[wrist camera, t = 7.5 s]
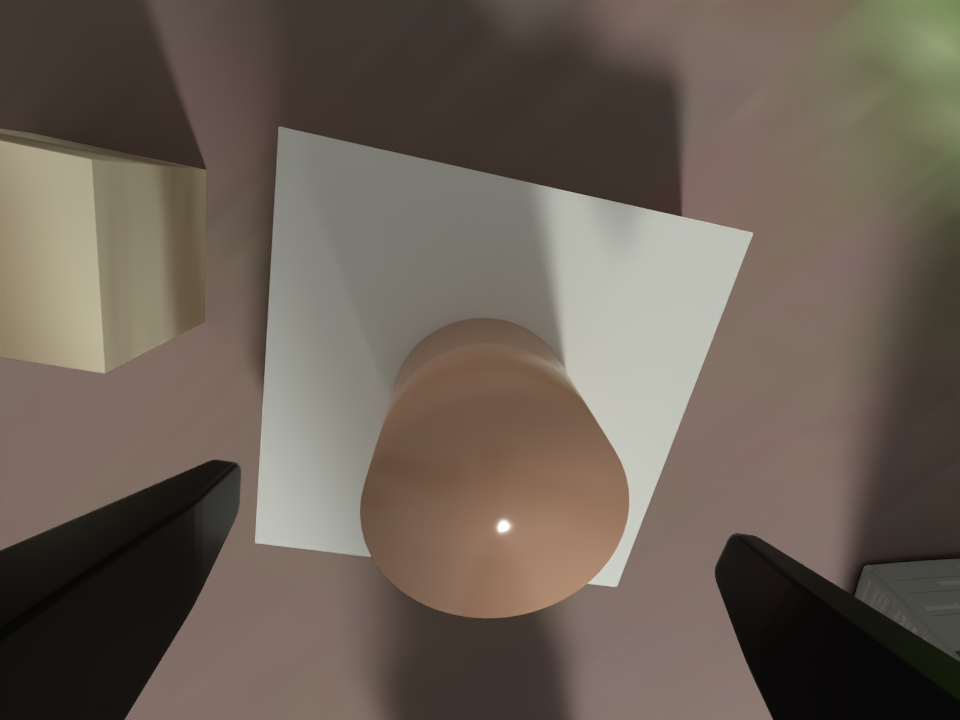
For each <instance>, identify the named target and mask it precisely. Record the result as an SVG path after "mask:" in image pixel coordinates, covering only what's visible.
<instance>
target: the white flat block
mask: <svg viewBox="0 0 960 720" xmlns="http://www.w3.org/2000/svg"><path fill="white" fill-rule="evenodd" d="M752 235H753V233H752V232H748V231H743V230H739V229H734V228H730V227H725V226H721V225H716V224H712V223H707V222H703V221H699V220H694V219H690V218H685V217H681V216H676V215H672V214H667V213H663V212H658V211H654V210H649V209H645V208H641V207H636V206H632V205H627V204H623V203H618V202H614V201H609V200H605V199H600V198H596V197H592V196H587V195H583V194H578V193H574V192H569V191H565V190H560V189H556V188H551V187H547V186H542V185H538V184H534V183H529V182H525V181H520V180H516V179H511V178H507V177H502V176H498V175H493V174H489V173H485V172H480V171H476V170H471V169H467V168H462V167H458V166H453V165H449V164H444V163H440V162H436V161H431V160H427V159H422V158H418V157H413V156H409V155H404V154H400V153H395V152H391V151H386V150H382V149H378V148H373V147H369V146H364V145H360V144H355V143H351V142H346V141H342V140H337V139H333V138H329V137H324V136H320V135H315V134H311V133H306V132H302V131H297V130H293V129H288V128H284V127H279V130H278V148H277V165H276V183H275V200H274V218H273V235H272V253H271V271H270V288H269V306H268V323H267V341H266V358H265V376H264V394H263V411H262V429H261V446H260V464H259V481H258V499H257V517H256V534H255V543H260V544H268V545H276V546H285V547H293V548H301V549H309V550H317V551H325V552H334V553H342V554H350V555H358V556H366V557H371V555H370V553H369V550H368V548H367V546H366V544H365V541H364V537H363V533H362V529H361V520H360V504H361V495H362V491H363V487H364V483H365V479H366V476H367V473H368V470H369V466H370V463H371V460H372V457H373V453H374V450H375V447H376V444H377V440H378V437H379V434H380V431H381V427H382V424H383V421H384V418H385V414H386V411H387V408H388V405H389V401H390V398H391V395H392V392H393V388H394V385H395V382H396V379H397V376H398V373H399V371H400V368H401V366H402V364H403V363H404V361H405V359H406V358H407V356H408V355H409V354H410V352H411V351H412V350H413V348H414V347H415V346H416V345H417V344H418V343H419V342H420V341H422V340H423V339H424V338H425V337H427V336H428V335H429V334H431V333H432V332H434V331H436V330H438V329H440V328H441V327H444V326H446V325H449V324H451V323H454V322H458V321H462V320H467V319H474V318H491V319H500V320H504V321H508V322H512V323H514V324H517V325H519V326H522V327H524V328H526V329H527V330H529V331H531V332H533V333H534V334H535V335H537V336H538V337H539V338H541V339H542V340H543V341H544V342H545V343H546V344H547V345H548V346H549V347H550V348H551V350H552V351H553V352H554V354H555V355H556V356H557V358H558V360H559V361H560V363H561V364H562V366H563V368H564V369H565V371H566V372H567V374H568V376H569V377H570V379H571V381H572V382H573V384H574V385H575V387H576V389H577V390H578V392H579V393H580V395H581V397H582V398H583V400H584V401H585V403H586V405H587V406H588V408H589V409H590V411H591V413H592V414H593V416H594V417H595V419H596V421H597V422H598V424H599V426H600V427H601V429H602V430H603V432H604V434H605V435H606V437H607V438H608V440H609V442H610V443H611V445H612V446H613V448H614V450H615V452H616V453H617V455H618V457H619V459H620V461H621V463H622V466H623V468H624V471H625V474H626V477H627V483H628V489H629V511H628V519H627V523H626V526H625V530H624V533H623V536H622V538H621V540H620V542H619V545H618V547H617V549H616V550H615V552H614V553H613V555H612V557H611V558H610V560H609V561H608V562H607V564H606V565H605V566H604V567H603V568H602V570H601V571H600V572H599V573H598V574H597V575H596V576H595V577H594V578H593V579H592V580H591V581H590V582H588V583H587V584H595V585H603V586H612V587H617V585H618V583H619V580H620V578H621V575H622V572H623V570H624V567H625V565H626V562H627V559H628V557H629V554H630V552H631V549H632V546H633V544H634V541H635V539H636V536H637V533H638V531H639V528H640V526H641V523H642V520H643V518H644V515H645V513H646V510H647V508H648V505H649V502H650V500H651V497H652V495H653V492H654V489H655V487H656V484H657V482H658V479H659V476H660V474H661V471H662V469H663V466H664V463H665V461H666V458H667V456H668V453H669V450H670V448H671V445H672V443H673V440H674V437H675V435H676V432H677V430H678V427H679V425H680V422H681V419H682V417H683V414H684V412H685V409H686V406H687V404H688V401H689V399H690V396H691V393H692V391H693V388H694V386H695V383H696V380H697V378H698V375H699V373H700V370H701V367H702V365H703V362H704V360H705V357H706V355H707V352H708V349H709V347H710V344H711V342H712V339H713V336H714V334H715V331H716V329H717V326H718V323H719V321H720V318H721V316H722V313H723V310H724V308H725V305H726V303H727V300H728V297H729V295H730V292H731V290H732V287H733V284H734V282H735V279H736V277H737V274H738V272H739V269H740V266H741V264H742V261H743V259H744V256H745V253H746V251H747V248H748V246H749V243H750V240H751V238H752Z"/></svg>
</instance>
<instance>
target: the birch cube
mask: <svg viewBox="0 0 960 720" xmlns="http://www.w3.org/2000/svg"><path fill="white" fill-rule="evenodd" d="M206 189H207V170H205V169H200V168H196V167H191V166H186V165H181V164H177V163H172V162H167V161H162V160H158V159H153V158H148V157H143V156H139V155H134V154H129V153H124V152H120V151H115V150H110V149H105V148H101V147H96V146H91V145H87V144H82V143H77V142H72V141H68V140H63V139H58V138H53V137H49V136H44V135H39V134H34V133H28V132H21V131H14V130H7V129H0V357H5V358H11V359H17V360H24V361H30V362H36V363H43V364H49V365H55V366H62V367H68V368H74V369H80V370H87V371H93V372H99V373H107V372H109V371H111V370H113V369H115V368H117V367H119V366H120V365H122V364H124V363H126V362H128V361H130V360H132V359H134V358H136V357H138V356H140V355H142V354H144V353H145V352H147V351H149V350H151V349H153V348H155V347H157V346H159V345H161V344H163V343H165V342H167V341H169V340H171V339H172V338H174V337H176V336H178V335H180V334H182V333H184V332H186V331H188V330H190V329H192V328H194V327H196V326H197V325H199V324H201V323H203V322H205V270H206Z"/></svg>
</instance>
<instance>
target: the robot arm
mask: <svg viewBox="0 0 960 720" xmlns="http://www.w3.org/2000/svg"><path fill="white" fill-rule="evenodd" d="M240 481H241V469H240V466H239V464H238V463H236V462H229V461H222V460H211V461H209V462H206V463H204V464H202V465H199V466H197V467H195V468H192V469H190V470H188V471H185V472H183V473H181V474H178V475H176V476H174V477H171V478H169V479H167V480H164V481H162V482H160V483H157V484H155V485H153V486H150V487H148V488H146V489H143V490H141V491H139V492H136V493H134V494H132V495H129V496H127V497H125V498H122V499H120V500H118V501H115V502H113V503H111V504H108V505H106V506H104V507H101V508H99V509H97V510H94V511H92V512H90V513H87V514H85V515H83V516H80V517H78V518H76V519H73V520H71V521H69V522H66V523H64V524H62V525H59V526H57V527H55V528H52V529H50V530H47V531H45V532H43V533H40V534H38V535H36V536H33V537H31V538H29V539H26V540H24V541H22V542H19V543H17V544H15V545H12V546H10V547H8V548H5V549H3V550H1V551H0V720H125V718H126V716H127V715H128V713H129V711H130V710H131V708H132V706H133V705H134V703H135V702H136V700H137V698H138V697H139V695H140V693H141V692H142V690H143V688H144V687H145V685H146V684H147V682H148V680H149V679H150V677H151V675H152V674H153V672H154V670H155V669H156V667H157V666H158V664H159V662H160V661H161V659H162V657H163V656H164V654H165V652H166V651H167V649H168V648H169V646H170V644H171V643H172V641H173V639H174V638H175V636H176V634H177V633H178V631H179V630H180V628H181V626H182V625H183V623H184V621H185V620H186V618H187V616H188V615H189V613H190V611H191V609H192V608H193V606H194V604H195V602H196V600H197V598H198V596H199V594H200V592H201V590H202V588H203V586H204V584H205V582H206V580H207V578H208V576H209V573H210V571H211V569H212V567H213V565H214V563H215V561H216V559H217V557H218V555H219V552H220V550H221V548H222V546H223V544H224V542H225V540H226V538H227V536H228V533H229V531H230V529H231V527H232V525H233V523H234V521H235V519H236V516H237V513H238V510H239V504H240ZM715 579H716V582H717V585H718V587H719V590H720V593H721V596H722V598H723V601H724V604H725V606H726V609H727V612H728V614H729V617H730V620H731V623H732V625H733V628H734V631H735V633H736V636H737V639H738V641H739V644H740V647H741V649H742V652H743V654H744V657H745V660H746V662H747V664H748V667H749V669H750V671H751V673H752V676H753V678H754V680H755V682H756V684H757V686H758V689H759V691H760V693H761V695H762V697H763V699H764V701H765V703H766V706H767V708H768V710H769V712H770V714H771V716H772V718H773V720H960V661H958V660H957V659H955V658H953V657H952V656H950V655H948V654H947V653H945V652H944V651H942V650H940V649H939V648H937V647H935V646H934V645H932V644H931V643H929V642H927V641H926V640H924V639H922V638H921V637H919V636H918V635H916V634H914V633H913V632H911V631H909V630H908V629H906V628H905V627H903V626H901V625H900V624H898V623H896V622H895V621H893V620H892V619H890V618H888V617H887V616H885V615H883V614H882V613H880V612H879V611H877V610H875V609H874V608H872V607H870V606H869V605H867V604H866V603H864V602H862V601H861V600H859V599H857V598H856V597H854V596H853V595H851V594H849V593H848V592H846V591H844V590H843V589H841V588H840V587H838V586H836V585H835V584H833V583H832V582H830V581H828V580H827V579H825V578H823V577H822V576H820V575H819V574H817V573H815V572H814V571H812V570H810V569H809V568H807V567H806V566H804V565H802V564H801V563H799V562H797V561H796V560H794V559H793V558H791V557H789V556H788V555H786V554H784V553H783V552H781V551H780V550H778V549H776V548H775V547H773V546H771V545H770V544H768V543H767V542H765V541H763V540H762V539H760V538H758V537H756V536H753V535H746V534H739V533H736V534H733V535H731V536H730V537H729V539H728V541H727V543H726V545H725V547H724V549H723V551H722V553H721V555H720V558H719V560H718V562H717V564H716V567H715Z"/></svg>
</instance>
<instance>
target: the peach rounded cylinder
mask: <svg viewBox="0 0 960 720" xmlns="http://www.w3.org/2000/svg"><path fill="white" fill-rule="evenodd" d="M628 511H629V489H628V483H627V477H626V474H625V471H624V468H623V466H622V463H621V461H620V459H619V457H618V455H617V453H616V452H615V450H614V448H613V446H612V445H611V443H610V442H609V440H608V438H607V437H606V435H605V434H604V432H603V430H602V429H601V427H600V426H599V424H598V422H597V421H596V419H595V417H594V416H593V414H592V413H591V411H590V409H589V408H588V406H587V405H586V403H585V401H584V400H583V398H582V397H581V395H580V393H579V392H578V390H577V389H576V387H575V385H574V384H573V382H572V381H571V379H570V377H569V376H568V374H567V372H566V371H565V369H564V368H563V366H562V364H561V363H560V361H559V360H558V358H557V356H556V355H555V354H554V352H553V351H552V350H551V348H550V347H549V346H548V345H547V344H546V343H545V342H544V341H543V340H542V339H541V338H539V337H538V336H537V335H535V334H534V333H533V332H531V331H529V330H527V329H526V328H524V327H522V326H519V325H517V324H514V323H512V322H508V321H504V320H500V319H491V318H474V319H467V320H462V321H458V322H454V323H451V324H449V325H446V326H444V327H441V328H440V329H438V330H436V331H434V332H432V333H431V334H429V335H428V336H427V337H425V338H424V339H423V340H422V341H420V342H419V343H418V344H417V345H416V346H415V347H414V348H413V350H412V351H411V352H410V354H409V355H408V356H407V358H406V359H405V361H404V363H403V364H402V366H401V368H400V371H399V373H398V376H397V379H396V382H395V385H394V388H393V392H392V395H391V398H390V401H389V405H388V408H387V411H386V414H385V418H384V421H383V424H382V427H381V431H380V434H379V437H378V440H377V444H376V447H375V450H374V453H373V457H372V460H371V463H370V466H369V470H368V473H367V476H366V479H365V483H364V487H363V491H362V495H361V504H360V520H361V529H362V533H363V537H364V541H365V544H366V546H367V548H368V550H369V553H370V555H371V557H372V558H373V560H374V562H375V563H376V565H377V566H378V568H379V569H380V570H381V572H382V573H383V574H384V575H385V576H386V578H387V579H388V580H389V581H390V582H392V583H393V584H394V585H395V586H396V587H397V588H398V589H399V590H401V591H402V592H404V593H405V594H407V595H408V596H409V597H411V598H413V599H414V600H416V601H418V602H420V603H422V604H424V605H426V606H429V607H431V608H434V609H436V610H439V611H442V612H446V613H449V614H453V615H458V616H465V617H472V618H504V617H511V616H518V615H522V614H526V613H531V612H534V611H537V610H540V609H543V608H546V607H549V606H551V605H553V604H555V603H557V602H559V601H561V600H563V599H565V598H567V597H568V596H570V595H572V594H573V593H575V592H577V591H578V590H579V589H581V588H582V587H583V586H585V585H586V584H587V583H588V582H590V581H591V580H592V579H593V578H594V577H595V576H596V575H597V574H598V573H599V572H600V571H601V570H602V568H603V567H604V566H605V565H606V564H607V562H608V561H609V560H610V558H611V557H612V555H613V553H614V552H615V550H616V549H617V547H618V545H619V542H620V540H621V538H622V536H623V533H624V530H625V526H626V523H627V519H628Z"/></svg>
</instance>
